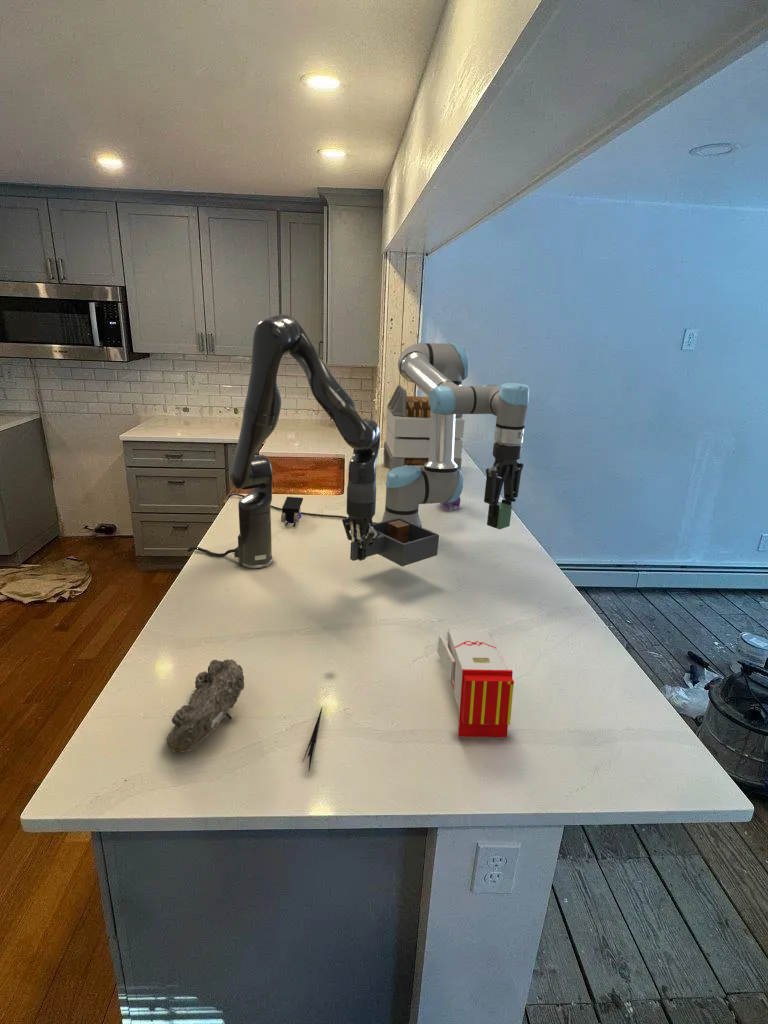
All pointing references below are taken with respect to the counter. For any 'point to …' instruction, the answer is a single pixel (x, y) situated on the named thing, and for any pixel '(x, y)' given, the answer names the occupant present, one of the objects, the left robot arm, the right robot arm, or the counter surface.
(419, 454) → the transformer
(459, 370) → the right robot arm
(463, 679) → the toy
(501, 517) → the green block
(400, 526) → the walnut block
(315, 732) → the feather
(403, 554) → the bin
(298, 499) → the figurine character
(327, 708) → the counter surface
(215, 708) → the fossil
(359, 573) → the counter surface
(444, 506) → the figurine
